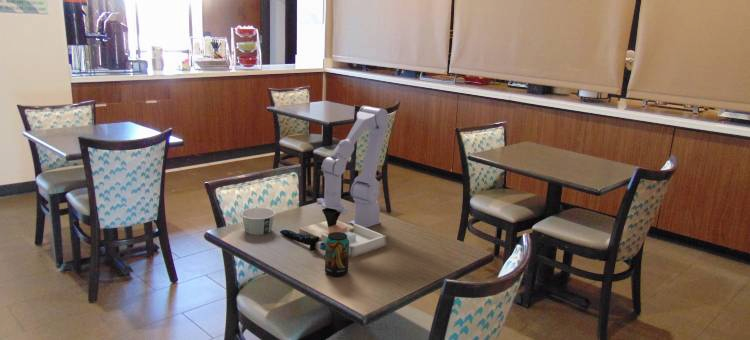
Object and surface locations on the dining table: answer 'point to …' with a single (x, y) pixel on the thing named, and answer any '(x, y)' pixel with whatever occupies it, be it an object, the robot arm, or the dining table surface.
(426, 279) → the dining table surface
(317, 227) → the birch plate
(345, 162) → the robot arm
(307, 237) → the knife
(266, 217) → the food container
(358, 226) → the box
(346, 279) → the dining table surface
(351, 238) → the blue tile
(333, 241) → the beverage can
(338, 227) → the terracotta tile
